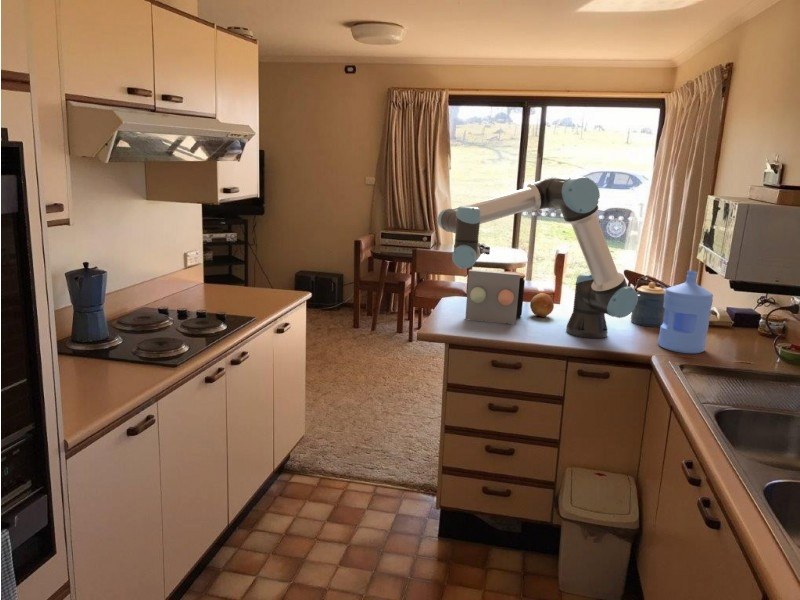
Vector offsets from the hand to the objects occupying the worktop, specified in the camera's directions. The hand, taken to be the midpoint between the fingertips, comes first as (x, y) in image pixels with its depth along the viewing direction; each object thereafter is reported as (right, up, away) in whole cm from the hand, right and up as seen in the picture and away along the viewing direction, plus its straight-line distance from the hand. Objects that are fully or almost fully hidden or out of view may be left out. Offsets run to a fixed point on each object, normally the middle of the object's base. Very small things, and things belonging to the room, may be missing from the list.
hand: (476, 244), depth 230 cm
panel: (+8, -29, +17) cm, 35 cm away
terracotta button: (+13, -22, +14) cm, 30 cm away
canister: (+75, -31, +27) cm, 85 cm away
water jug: (+73, -38, -8) cm, 83 cm away
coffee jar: (+17, -28, +28) cm, 43 cm away
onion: (+31, -28, +30) cm, 51 cm away
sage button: (+3, -21, +17) cm, 27 cm away
